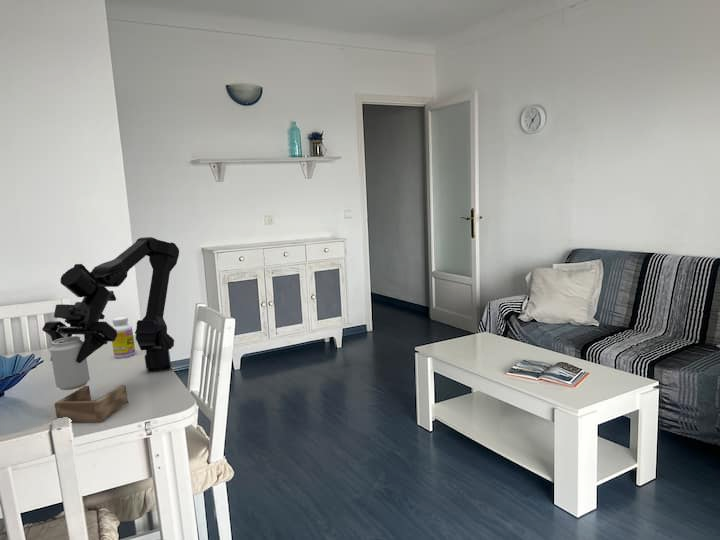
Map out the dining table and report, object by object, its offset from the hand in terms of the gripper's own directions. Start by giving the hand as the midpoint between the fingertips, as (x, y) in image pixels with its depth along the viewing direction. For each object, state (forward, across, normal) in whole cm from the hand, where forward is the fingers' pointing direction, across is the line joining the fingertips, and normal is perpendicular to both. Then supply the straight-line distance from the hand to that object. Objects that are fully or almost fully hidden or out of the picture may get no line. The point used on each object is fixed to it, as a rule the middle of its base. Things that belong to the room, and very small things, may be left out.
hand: (65, 361), depth 133 cm
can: (+4, 0, +6) cm, 7 cm away
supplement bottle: (-22, -22, +41) cm, 52 cm away
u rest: (+9, +5, +10) cm, 14 cm away
